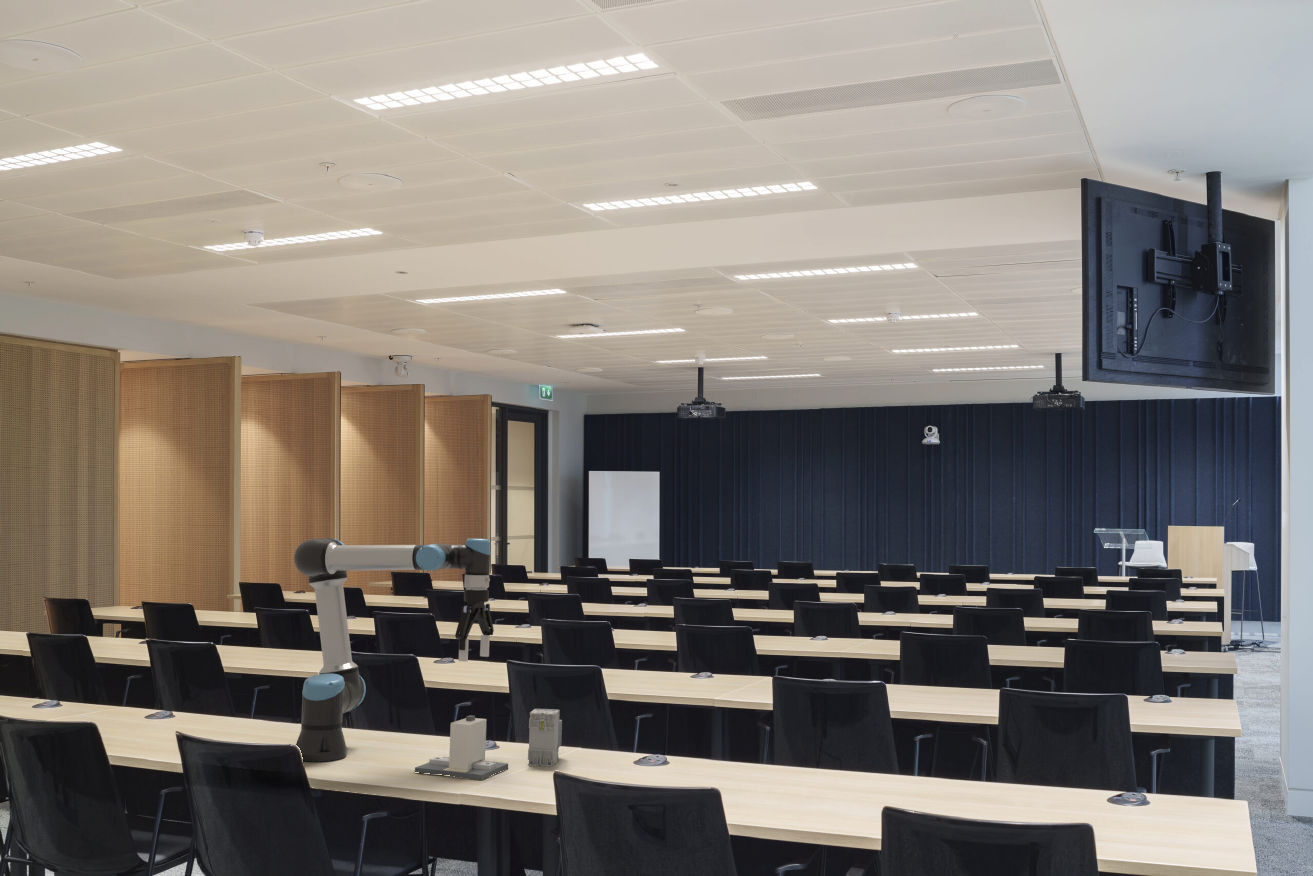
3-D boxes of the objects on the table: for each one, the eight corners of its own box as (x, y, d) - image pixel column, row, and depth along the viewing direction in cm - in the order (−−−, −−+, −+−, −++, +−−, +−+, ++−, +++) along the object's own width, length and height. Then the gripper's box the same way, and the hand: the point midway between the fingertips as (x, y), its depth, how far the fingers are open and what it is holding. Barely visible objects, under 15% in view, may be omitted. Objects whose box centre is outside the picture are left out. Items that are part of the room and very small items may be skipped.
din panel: (414, 773, 306) (415, 762, 306) (443, 761, 321) (444, 751, 321) (481, 780, 299) (482, 769, 300) (508, 768, 314) (508, 758, 315)
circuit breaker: (561, 756, 333) (563, 706, 334) (552, 766, 319) (554, 714, 320) (537, 755, 334) (539, 705, 335) (527, 765, 320) (529, 713, 321)
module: (448, 768, 306) (450, 718, 307) (466, 761, 316) (468, 713, 317) (467, 770, 304) (469, 720, 305) (484, 763, 314) (486, 715, 315)
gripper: (467, 591, 323) (464, 664, 322) (506, 587, 347) (503, 655, 345) (445, 590, 326) (442, 662, 324) (484, 586, 349) (482, 653, 348)
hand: (473, 658), depth 335 cm, fingers open, 13 cm apart
